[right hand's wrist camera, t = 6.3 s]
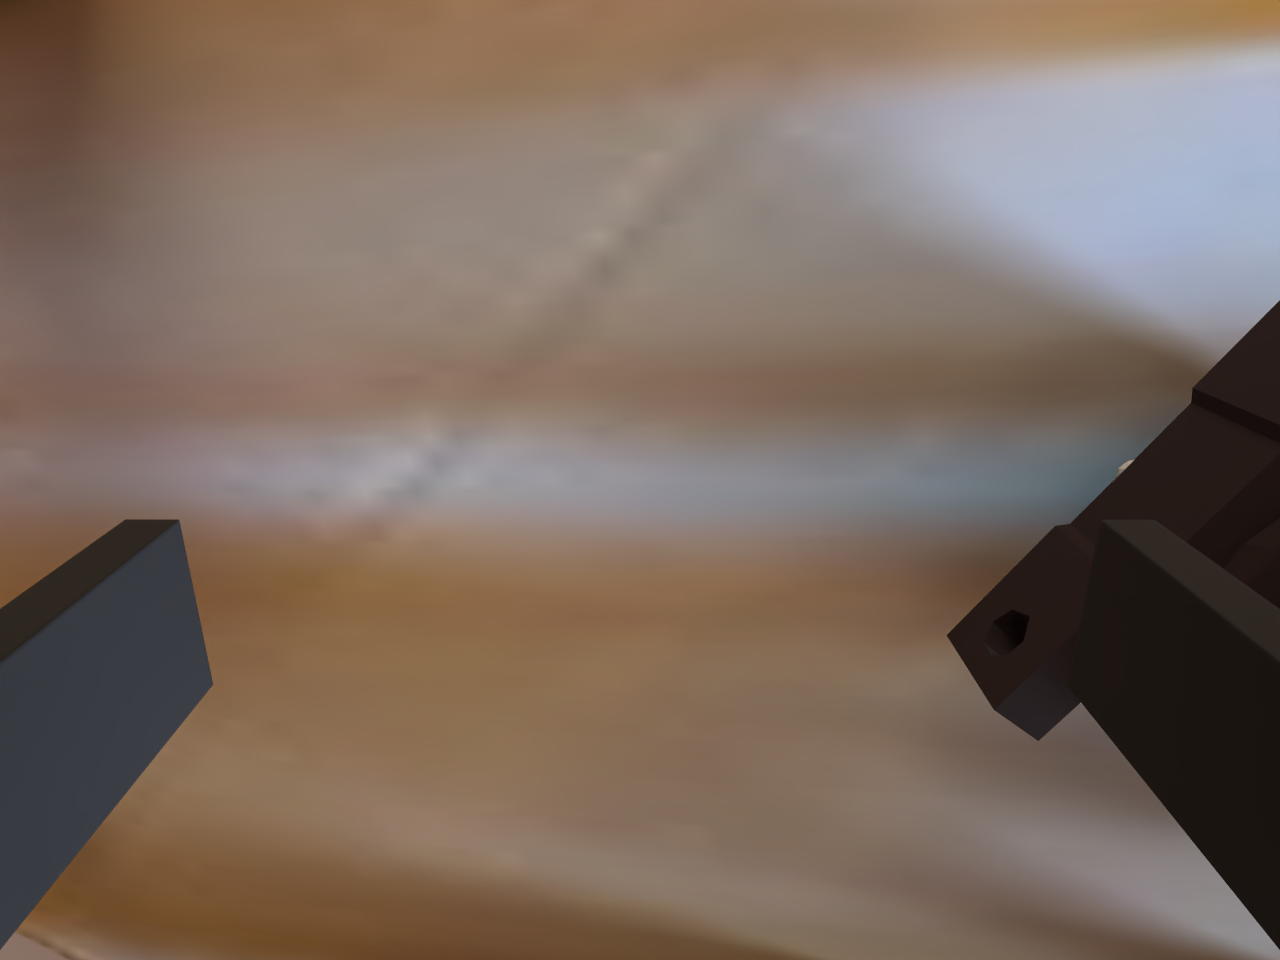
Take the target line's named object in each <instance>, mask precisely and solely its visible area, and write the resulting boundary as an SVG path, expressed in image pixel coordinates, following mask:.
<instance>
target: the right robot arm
mask: <svg viewBox="0 0 1280 960" xmlns="http://www.w3.org/2000/svg"><path fill="white" fill-rule="evenodd" d="M212 685H213V682H212V677H211V672H210V667H209V662H208V658H207V653H206V648H205V643H204V638H203V633H202V628H201V624H200V619H199V614H198V609H197V604H196V599H195V594H194V589H193V585H192V580H191V575H190V570H189V565H188V560H187V555H186V551H185V546H184V541H183V536H182V531H181V526H180V521H179V520H124V521H123V522H121V523H120V524H119V525H117V526H116V527H114V528H113V529H112V530H110V531H109V532H107V533H106V534H105V535H103V536H102V537H100V538H99V539H98V540H96V541H95V542H93V543H92V544H91V545H89V546H88V547H86V548H85V549H84V550H82V551H81V552H79V553H78V554H77V555H75V556H74V557H72V558H71V559H70V560H68V561H67V562H65V563H64V564H63V565H61V566H60V567H58V568H57V569H56V570H54V571H53V572H51V573H50V574H49V575H47V576H46V577H44V578H43V579H42V580H40V581H39V582H37V583H36V584H35V585H33V586H32V587H30V588H29V589H28V590H26V591H25V592H23V593H22V594H21V595H19V596H18V597H16V598H15V599H14V600H12V601H11V602H9V603H8V604H7V605H5V606H4V607H2V608H1V609H0V949H1V948H2V947H3V946H4V944H5V943H6V942H7V941H8V939H9V938H10V937H11V936H12V934H13V933H14V932H15V931H16V929H17V928H18V927H19V926H20V924H21V923H22V922H23V921H24V919H25V918H26V917H27V916H28V915H29V913H30V912H31V911H32V910H33V908H34V907H35V906H36V905H37V903H38V902H39V901H40V900H41V898H42V897H43V896H44V895H45V893H46V892H47V891H48V890H49V888H50V887H51V886H52V885H53V883H54V882H55V881H56V880H57V878H58V877H59V876H60V875H61V873H62V872H63V871H64V870H65V868H66V867H67V866H68V865H69V863H70V862H71V861H72V860H73V858H74V857H75V856H76V855H77V853H78V852H79V851H80V850H81V848H82V847H83V846H84V845H85V843H86V842H87V841H88V840H89V838H90V837H91V836H92V835H93V833H94V832H95V831H96V830H97V829H98V827H99V826H100V825H101V824H102V822H103V821H104V820H105V819H106V817H107V816H108V815H109V814H110V812H111V811H112V810H113V809H114V807H115V806H116V805H117V804H118V802H119V801H120V800H121V799H122V797H123V796H124V795H125V794H126V792H127V791H128V790H129V789H130V787H131V786H132V785H133V784H134V782H135V781H136V780H137V779H138V777H139V776H140V775H141V774H142V772H143V771H144V770H145V769H146V767H147V766H148V765H149V764H150V762H151V761H152V760H153V759H154V757H155V756H156V755H157V754H158V752H159V751H160V750H161V749H162V747H163V746H164V745H165V744H166V743H167V741H168V740H169V739H170V738H171V736H172V735H173V734H174V733H175V731H176V730H177V729H178V728H179V726H180V725H181V724H182V723H183V721H184V720H185V719H186V718H187V716H188V715H189V714H190V713H191V711H192V710H193V709H194V708H195V706H196V705H197V704H198V703H199V701H200V700H201V699H202V698H203V696H204V695H205V694H206V693H207V691H208V690H209V689H210V688H211V686H212ZM1067 685H1068V686H1069V688H1070V689H1071V690H1072V691H1073V693H1074V694H1075V695H1076V696H1077V698H1078V699H1079V700H1080V701H1081V703H1082V704H1083V705H1084V706H1085V708H1086V709H1087V710H1088V711H1089V713H1090V714H1091V715H1092V716H1093V718H1094V719H1095V720H1096V721H1097V723H1098V724H1099V725H1100V726H1101V728H1102V729H1103V730H1104V731H1105V733H1106V734H1107V735H1108V736H1109V738H1110V739H1111V740H1112V741H1113V743H1114V744H1115V745H1116V746H1117V747H1118V749H1119V750H1120V751H1121V752H1122V754H1123V755H1124V756H1125V757H1126V759H1127V760H1128V761H1129V762H1130V764H1131V765H1132V766H1133V767H1134V769H1135V770H1136V771H1137V772H1138V774H1139V775H1140V776H1141V777H1142V779H1143V780H1144V781H1145V782H1146V784H1147V785H1148V786H1149V787H1150V789H1151V790H1152V791H1153V792H1154V794H1155V795H1156V796H1157V797H1158V799H1159V800H1160V801H1161V802H1162V804H1163V805H1164V806H1165V807H1166V809H1167V810H1168V811H1169V812H1170V814H1171V815H1172V816H1173V817H1174V819H1175V820H1176V821H1177V822H1178V824H1179V825H1180V826H1181V827H1182V829H1183V830H1184V831H1185V832H1186V833H1187V835H1188V836H1189V837H1190V838H1191V840H1192V841H1193V842H1194V843H1195V845H1196V846H1197V847H1198V848H1199V850H1200V851H1201V852H1202V853H1203V855H1204V856H1205V857H1206V858H1207V860H1208V861H1209V862H1210V863H1211V865H1212V866H1213V867H1214V868H1215V870H1216V871H1217V872H1218V873H1219V875H1220V876H1221V877H1222V878H1223V880H1224V881H1225V882H1226V883H1227V885H1228V886H1229V887H1230V888H1231V890H1232V891H1233V892H1234V893H1235V895H1236V896H1237V897H1238V898H1239V900H1240V901H1241V902H1242V903H1243V905H1244V906H1245V907H1246V908H1247V910H1248V911H1249V912H1250V913H1251V915H1252V916H1253V917H1254V918H1255V919H1256V921H1257V922H1258V923H1259V924H1260V926H1261V927H1262V928H1263V929H1264V931H1265V932H1266V933H1267V934H1268V936H1269V937H1270V938H1271V939H1272V941H1273V942H1274V943H1275V944H1276V946H1277V947H1278V948H1279V949H1280V609H1279V608H1278V607H1276V606H1275V605H1273V604H1272V603H1271V602H1269V601H1268V600H1266V599H1265V598H1264V597H1262V596H1261V595H1259V594H1258V593H1257V592H1255V591H1254V590H1252V589H1251V588H1250V587H1248V586H1247V585H1245V584H1244V583H1243V582H1241V581H1240V580H1238V579H1237V578H1236V577H1234V576H1233V575H1231V574H1230V573H1229V572H1227V571H1226V570H1224V569H1223V568H1222V567H1220V566H1219V565H1217V564H1216V563H1215V562H1213V561H1212V560H1210V559H1209V558H1208V557H1206V556H1205V555H1203V554H1202V553H1201V552H1199V551H1198V550H1196V549H1195V548H1194V547H1192V546H1191V545H1189V544H1188V543H1187V542H1185V541H1184V540H1182V539H1181V538H1180V537H1178V536H1177V535H1175V534H1174V533H1173V532H1171V531H1170V530H1168V529H1167V528H1166V527H1164V526H1163V525H1161V524H1160V523H1159V522H1157V521H1156V520H1101V521H1100V526H1099V531H1098V536H1097V541H1096V546H1095V551H1094V555H1093V560H1092V565H1091V570H1090V575H1089V580H1088V585H1087V589H1086V594H1085V599H1084V604H1083V609H1082V614H1081V619H1080V624H1079V628H1078V633H1077V638H1076V643H1075V648H1074V653H1073V658H1072V662H1071V667H1070V672H1069V677H1068V682H1067Z"/></svg>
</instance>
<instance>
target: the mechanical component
mask: <svg viewBox="0 0 1280 960" xmlns="http://www.w3.org/2000/svg"><path fill="white" fill-rule="evenodd" d="M1101 520H1156V521H1157V522H1159V523H1160V524H1161V525H1163V526H1164V527H1166V528H1167V529H1168V530H1170V531H1171V532H1173V533H1174V534H1175V535H1177V536H1178V537H1180V538H1181V539H1182V540H1184V541H1185V542H1187V543H1188V544H1189V545H1191V546H1192V547H1194V548H1195V549H1196V550H1198V551H1199V552H1201V553H1202V554H1203V555H1205V556H1206V557H1208V558H1209V559H1210V560H1212V561H1213V562H1215V563H1216V564H1217V565H1219V566H1220V567H1222V568H1223V569H1224V570H1226V571H1227V572H1229V573H1230V574H1231V575H1233V576H1234V577H1236V578H1237V579H1238V580H1240V581H1241V582H1243V583H1244V584H1245V585H1247V586H1248V587H1250V588H1251V589H1252V590H1254V591H1255V592H1257V593H1258V594H1259V595H1261V596H1262V597H1264V598H1265V599H1266V600H1268V601H1269V602H1271V603H1272V604H1273V605H1275V606H1276V607H1278V608H1279V609H1280V301H1279V302H1278V303H1277V304H1276V305H1275V306H1274V307H1273V308H1272V309H1271V310H1270V311H1269V312H1268V313H1267V314H1266V315H1265V316H1264V317H1263V318H1262V319H1261V320H1260V321H1259V322H1258V323H1257V324H1256V325H1255V326H1254V327H1253V328H1252V329H1251V330H1250V331H1249V332H1248V333H1247V334H1246V335H1245V336H1244V337H1243V338H1242V339H1241V340H1240V341H1239V342H1238V343H1237V344H1236V345H1235V346H1234V347H1233V348H1232V349H1231V350H1230V351H1229V352H1228V353H1227V354H1226V355H1225V356H1224V357H1223V358H1222V359H1221V360H1220V361H1219V362H1218V363H1217V364H1216V365H1215V366H1214V367H1213V368H1212V369H1211V370H1210V371H1209V372H1208V373H1207V374H1206V375H1205V376H1204V377H1203V378H1202V379H1201V380H1200V381H1199V382H1198V383H1197V384H1196V385H1195V386H1194V387H1193V391H1192V402H1191V404H1190V405H1189V406H1188V407H1187V408H1186V409H1185V410H1184V411H1183V412H1182V413H1181V414H1180V415H1179V416H1178V417H1177V418H1176V419H1175V420H1174V421H1173V422H1172V423H1171V424H1170V425H1169V426H1168V427H1167V428H1166V429H1165V430H1164V431H1163V432H1162V433H1161V434H1160V435H1159V436H1158V437H1157V438H1156V439H1155V440H1154V441H1153V442H1152V443H1151V444H1150V445H1149V446H1148V447H1147V448H1146V449H1145V450H1144V451H1143V452H1142V453H1141V454H1140V455H1139V456H1138V457H1137V458H1136V459H1134V460H1129V461H1127V462H1126V463H1124V464H1123V465H1122V466H1121V467H1119V468H1118V472H1117V476H1116V478H1115V479H1114V480H1113V481H1112V483H1111V484H1110V485H1109V486H1108V487H1107V488H1106V489H1105V490H1104V491H1103V492H1102V493H1101V494H1100V495H1099V496H1098V497H1097V498H1096V499H1095V500H1094V501H1093V502H1092V503H1091V504H1090V505H1089V506H1088V507H1087V508H1086V509H1085V510H1084V511H1083V512H1082V513H1081V514H1080V515H1079V516H1078V517H1077V518H1076V519H1075V520H1074V521H1073V522H1072V523H1071V524H1067V525H1059V526H1055V527H1054V528H1053V529H1052V530H1051V531H1050V532H1049V533H1048V534H1047V535H1046V536H1045V537H1044V538H1043V539H1042V540H1041V541H1040V542H1039V543H1038V544H1037V545H1036V546H1035V547H1034V548H1033V549H1032V550H1031V551H1030V552H1029V553H1028V554H1027V555H1026V556H1025V557H1024V558H1023V559H1022V560H1021V561H1020V562H1019V563H1018V564H1017V565H1016V566H1015V567H1014V568H1013V569H1012V570H1011V571H1010V572H1009V573H1008V574H1007V575H1006V576H1005V577H1004V578H1003V579H1002V580H1001V581H1000V582H999V583H998V584H997V585H996V586H995V587H994V588H993V589H992V590H991V591H990V592H989V593H988V594H987V595H986V596H985V597H984V598H983V599H982V600H981V601H980V602H979V603H978V604H977V605H976V606H975V607H974V608H973V609H972V610H971V611H970V612H969V613H968V614H967V615H966V616H965V617H964V618H963V619H962V620H961V621H960V622H959V623H958V624H957V625H956V626H955V627H954V628H953V629H952V630H951V631H950V632H949V634H948V635H947V637H948V638H949V640H950V641H951V643H952V644H953V646H954V648H955V649H956V651H957V652H958V654H959V655H960V657H961V659H962V660H963V662H964V663H965V665H966V666H967V668H968V670H969V671H970V673H971V674H972V676H973V677H974V679H975V681H976V682H977V684H978V685H979V687H980V689H981V690H982V692H983V693H984V695H985V696H986V698H987V700H988V701H989V703H990V704H991V706H992V707H993V709H994V710H995V711H996V712H998V713H999V714H1001V715H1002V716H1004V717H1005V718H1006V719H1008V720H1009V721H1011V722H1012V723H1014V724H1015V725H1016V726H1018V727H1019V728H1021V729H1022V730H1024V731H1025V732H1026V733H1028V734H1029V735H1031V736H1032V737H1034V738H1035V739H1037V740H1038V741H1039V740H1040V739H1041V738H1042V737H1043V736H1044V735H1045V734H1046V733H1048V732H1049V731H1050V730H1051V729H1052V728H1053V727H1054V726H1055V725H1056V724H1057V723H1059V722H1060V721H1061V720H1062V719H1063V718H1064V717H1065V716H1066V715H1067V714H1068V713H1069V712H1071V711H1072V710H1073V709H1074V708H1075V707H1076V706H1077V705H1078V704H1079V703H1080V702H1081V701H1080V700H1079V699H1078V698H1077V696H1076V695H1075V694H1074V693H1073V691H1072V690H1071V689H1070V688H1069V686H1068V685H1067V682H1068V677H1069V672H1070V667H1071V662H1072V658H1073V653H1074V648H1075V643H1076V638H1077V633H1078V628H1079V624H1080V619H1081V614H1082V609H1083V604H1084V599H1085V594H1086V589H1087V585H1088V580H1089V575H1090V570H1091V565H1092V560H1093V555H1094V551H1095V546H1096V541H1097V536H1098V531H1099V526H1100V521H1101Z"/></svg>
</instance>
